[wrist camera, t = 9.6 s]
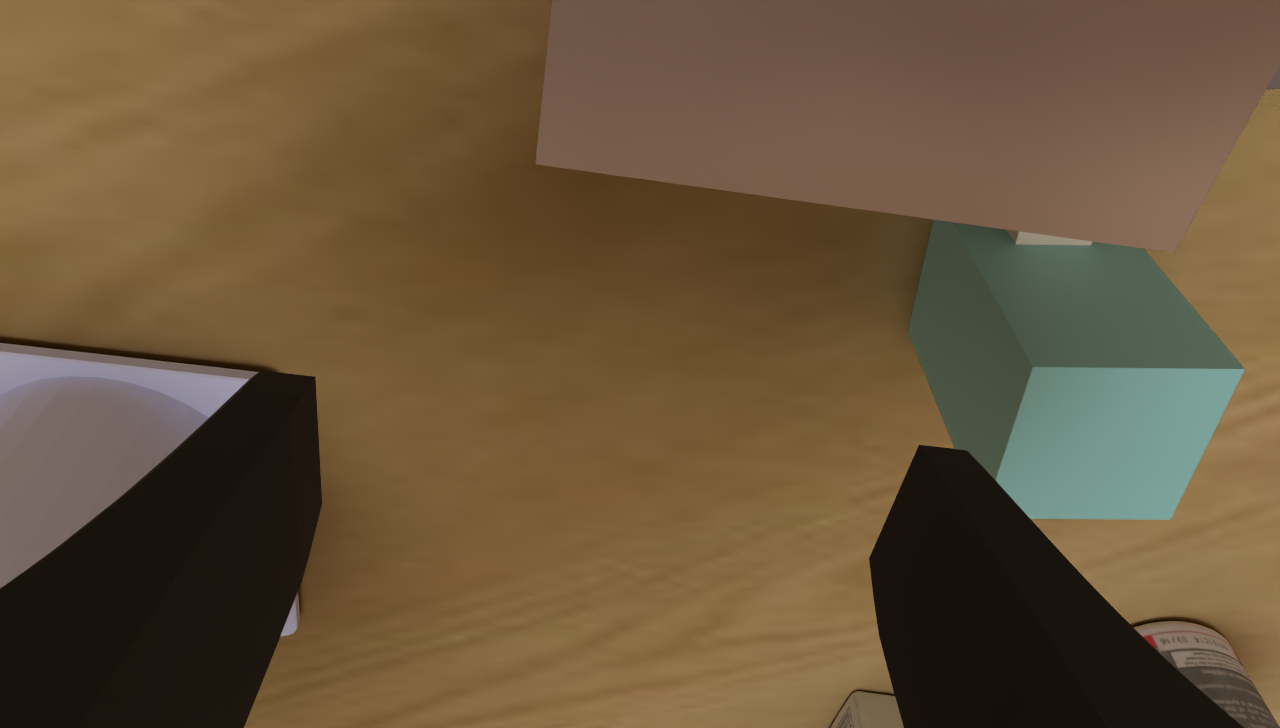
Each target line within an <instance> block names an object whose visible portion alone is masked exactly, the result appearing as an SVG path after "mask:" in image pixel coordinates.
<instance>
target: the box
mask: <svg viewBox="0 0 1280 728" xmlns="http://www.w3.org/2000/svg"><path fill="white" fill-rule="evenodd" d="M831 728H904V727H903V723H902V719H901V716H900V712H899V708H898V705H897V701H896V697H895V696H890V695H883V694H876V693H868V692H863V691H856V692H854V693H852V694H851V696H850V697H849V699H848V700H847V702H846V703H845V705H844V706H843V708H842V709H841V711H840V712H839V714H838V716H837V717H836V719H835V721H834V722H833V724H832V726H831Z"/></svg>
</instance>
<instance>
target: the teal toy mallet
mask: <svg viewBox="0 0 1280 728" xmlns="http://www.w3.org/2000/svg"><path fill="white" fill-rule="evenodd" d="M908 334H909V336H910V339H911V341H912V344H913V346H914V349H915V351H916V353H917V356H918V358H919V361H920V363H921V366H922V368H923V371H924V373H925V376H926V378H927V381H928V383H929V386H930V388H931V391H932V393H933V396H934V398H935V401H936V403H937V406H938V408H939V411H940V413H941V416H942V418H943V421H944V423H945V425H946V428H947V430H948V433H949V435H950V438H951V440H952V443H953V445H954V448H955V449H959V450H967V451H968V452H969V453H970V454H971V455H972V456H973V457H974V458H975V459H976V460H977V461H978V462H979V463H980V464H981V465H982V466H983V467H984V468H985V470H986V471H987V472H988V473H989V474H990V475H991V476H992V477H993V478H994V479H995V480H996V481H997V483H998V484H999V485H1000V486H1001V487H1002V488H1003V489H1004V490H1005V491H1006V493H1007V494H1008V495H1009V496H1010V497H1011V498H1012V499H1013V500H1014V501H1015V503H1016V504H1017V505H1018V506H1019V507H1020V508H1021V509H1022V510H1023V511H1024V513H1025V514H1026V515H1027V516H1028V517H1029V518H1030V519H1154V520H1170V519H1171V517H1172V515H1173V513H1174V511H1175V509H1176V507H1177V505H1178V503H1179V501H1180V499H1181V497H1182V495H1183V493H1184V491H1185V489H1186V487H1187V485H1188V483H1189V481H1190V479H1191V477H1192V475H1193V473H1194V471H1195V469H1196V467H1197V465H1198V463H1199V461H1200V459H1201V457H1202V455H1203V453H1204V451H1205V449H1206V447H1207V445H1208V443H1209V441H1210V438H1211V436H1212V434H1213V432H1214V430H1215V428H1216V426H1217V424H1218V422H1219V420H1220V418H1221V416H1222V414H1223V412H1224V410H1225V408H1226V406H1227V404H1228V402H1229V400H1230V398H1231V396H1232V394H1233V392H1234V390H1235V388H1236V386H1237V384H1238V382H1239V380H1240V378H1241V376H1242V374H1243V372H1244V370H1245V369H1244V368H1243V366H1242V365H1241V364H1240V363H1239V362H1238V360H1237V359H1236V358H1235V357H1234V356H1233V355H1232V353H1231V352H1230V351H1229V350H1228V349H1227V347H1226V346H1225V345H1224V344H1223V343H1222V341H1221V340H1220V339H1219V338H1218V337H1217V335H1216V334H1215V333H1214V332H1213V331H1212V330H1211V328H1210V327H1209V326H1208V325H1207V324H1206V322H1205V321H1204V320H1203V319H1202V318H1201V316H1200V315H1199V314H1198V313H1197V312H1196V310H1195V309H1194V308H1193V307H1192V306H1191V305H1190V303H1189V302H1188V301H1187V300H1186V299H1185V297H1184V296H1183V295H1182V294H1181V293H1180V291H1179V290H1178V289H1177V288H1176V287H1175V285H1174V284H1173V283H1172V282H1171V281H1170V280H1169V278H1168V277H1167V276H1166V275H1165V274H1164V272H1163V271H1162V270H1161V269H1160V268H1159V266H1158V265H1157V264H1156V263H1155V262H1154V260H1153V259H1152V258H1151V257H1150V256H1149V255H1148V253H1147V252H1146V251H1145V250H1144V249H1143V248H1136V247H1128V246H1121V245H1114V244H1107V243H1099V242H1092V241H1085V240H1078V239H1071V238H1063V237H1056V236H1049V235H1042V234H1034V233H1027V232H1020V231H1013V230H1006V229H998V228H991V227H984V226H977V225H969V224H962V223H955V222H948V221H941V220H933V223H932V227H931V231H930V236H929V240H928V245H927V249H926V253H925V258H924V262H923V266H922V271H921V275H920V280H919V284H918V288H917V293H916V297H915V302H914V306H913V310H912V315H911V319H910V324H909V328H908Z"/></svg>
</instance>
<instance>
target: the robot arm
mask: <svg viewBox="0 0 1280 728" xmlns="http://www.w3.org/2000/svg"><path fill="white" fill-rule="evenodd" d="M321 506H322V495H321V476H320V457H319V438H318V419H317V400H316V381H315V377H312V376H303V375H294V374H285V373H277V372H268V371H260V372H254V371H245V370H236V369H228V368H219V367H210V366H201V365H192V364H183V363H174V362H165V361H157V360H148V359H139V358H130V357H121V356H112V355H103V354H94V353H86V352H77V351H68V350H59V349H50V348H41V347H32V346H23V345H15V344H6V343H0V728H244V726H245V723H246V721H247V718H248V716H249V713H250V711H251V708H252V706H253V703H254V701H255V698H256V696H257V693H258V691H259V688H260V686H261V683H262V681H263V678H264V676H265V673H266V671H267V668H268V666H269V663H270V661H271V658H272V656H273V653H274V651H275V648H276V646H277V643H278V641H279V638H280V636H287V635H290V634H293V633H294V632H295V631H296V630H297V627H298V624H299V620H300V611H299V599H298V590H299V587H300V585H301V582H302V579H303V575H304V571H305V568H306V564H307V560H308V557H309V553H310V549H311V545H312V541H313V537H314V534H315V530H316V526H317V522H318V518H319V514H320V510H321ZM869 561H870V569H871V578H872V587H873V595H874V603H875V610H876V617H877V624H878V630H879V636H880V640H881V644H882V648H883V652H884V656H885V660H886V663H887V667H888V671H889V675H890V679H891V682H892V686H893V690H894V694H895V697H896V701H897V705H898V708H899V712H900V716H901V719H902V723H903V727H904V728H1244V727H1243V726H1242V725H1240V724H1239V723H1238V722H1237V721H1236V720H1235V719H1233V718H1232V717H1231V716H1230V715H1229V714H1228V713H1226V712H1225V711H1224V710H1223V709H1222V708H1221V707H1219V706H1218V705H1217V704H1216V703H1215V702H1214V701H1212V700H1211V699H1210V698H1209V697H1208V696H1207V695H1205V694H1204V693H1203V692H1202V691H1201V690H1200V689H1198V688H1197V687H1196V686H1195V685H1194V684H1193V683H1192V682H1190V681H1189V680H1188V679H1187V678H1186V677H1185V676H1184V675H1183V674H1182V673H1181V672H1179V671H1178V670H1177V669H1176V668H1175V667H1174V666H1173V665H1172V664H1171V663H1170V662H1168V661H1167V660H1166V659H1165V658H1164V657H1163V656H1162V655H1161V654H1160V653H1159V652H1158V651H1157V650H1156V649H1155V648H1154V647H1153V646H1152V645H1151V644H1150V643H1149V642H1148V641H1147V640H1146V639H1145V638H1144V637H1143V636H1141V635H1140V634H1139V633H1138V632H1137V631H1136V630H1135V629H1134V628H1133V627H1132V626H1131V625H1130V624H1129V623H1128V622H1127V621H1126V620H1125V619H1124V618H1123V617H1122V616H1121V615H1120V614H1119V613H1118V612H1117V611H1116V610H1115V609H1114V608H1113V607H1112V606H1111V605H1110V604H1109V603H1108V602H1107V601H1106V600H1105V599H1104V598H1103V597H1102V596H1101V595H1100V594H1099V593H1098V592H1097V591H1096V590H1095V588H1094V587H1093V586H1092V585H1091V584H1090V583H1089V582H1088V581H1087V580H1086V579H1085V578H1084V577H1083V576H1082V575H1081V574H1080V573H1079V572H1078V571H1077V569H1076V568H1075V567H1074V566H1073V565H1072V564H1071V563H1070V562H1069V561H1068V560H1067V559H1066V558H1065V557H1064V556H1063V554H1062V553H1061V552H1060V551H1059V550H1058V549H1057V548H1056V547H1055V546H1054V545H1053V543H1052V542H1051V541H1050V540H1049V539H1048V538H1047V537H1046V536H1045V535H1044V534H1043V533H1042V531H1041V530H1040V529H1039V528H1038V527H1037V526H1036V525H1035V524H1034V523H1033V521H1032V520H1031V519H1030V518H1029V517H1028V516H1027V515H1026V514H1025V513H1024V511H1023V510H1022V509H1021V508H1020V507H1019V506H1018V505H1017V504H1016V503H1015V501H1014V500H1013V499H1012V498H1011V497H1010V496H1009V495H1008V494H1007V493H1006V491H1005V490H1004V489H1003V488H1002V487H1001V486H1000V485H999V484H998V483H997V481H996V480H995V479H994V478H993V477H992V476H991V475H990V474H989V473H988V472H987V471H986V470H985V468H984V467H983V466H982V465H981V464H980V463H979V462H978V461H977V460H976V459H975V458H974V457H973V456H972V455H971V454H970V453H969V452H968V451H967V450H959V449H950V448H942V447H933V446H924V445H919V446H918V449H917V451H916V453H915V456H914V458H913V460H912V462H911V465H910V467H909V469H908V471H907V474H906V476H905V478H904V481H903V483H902V485H901V487H900V490H899V492H898V494H897V496H896V499H895V501H894V503H893V506H892V508H891V510H890V512H889V515H888V517H887V519H886V522H885V524H884V526H883V528H882V531H881V533H880V535H879V537H878V540H877V542H876V544H875V547H874V549H873V551H872V553H871V556H870V558H869Z"/></svg>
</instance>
